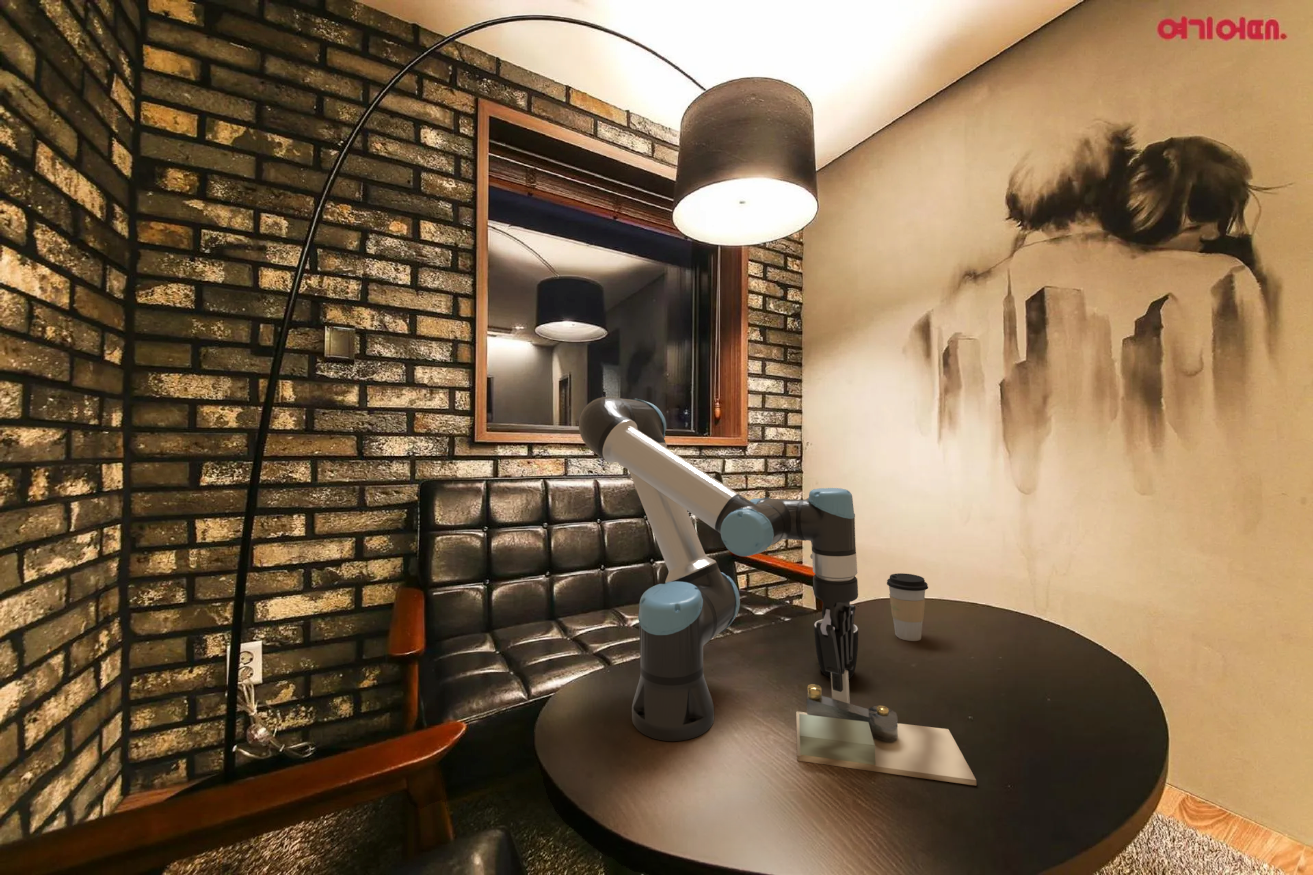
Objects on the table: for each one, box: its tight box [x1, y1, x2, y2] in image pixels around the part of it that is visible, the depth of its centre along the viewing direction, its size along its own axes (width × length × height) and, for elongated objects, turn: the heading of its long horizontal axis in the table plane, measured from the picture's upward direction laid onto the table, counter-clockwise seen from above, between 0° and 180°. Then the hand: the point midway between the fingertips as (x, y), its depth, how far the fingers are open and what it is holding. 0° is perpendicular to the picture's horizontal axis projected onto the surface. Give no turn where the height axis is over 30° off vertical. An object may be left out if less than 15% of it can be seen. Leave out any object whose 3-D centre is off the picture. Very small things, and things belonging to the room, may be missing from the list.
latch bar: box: [806, 683, 898, 742], centre depth 86 cm, size 15×4×5 cm, turn 53°
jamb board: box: [795, 711, 977, 786], centre depth 81 cm, size 25×13×4 cm, turn 75°
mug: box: [813, 618, 859, 679], centre depth 108 cm, size 12×9×10 cm
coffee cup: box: [886, 572, 929, 642], centre depth 125 cm, size 9×9×15 cm
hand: (840, 705), depth 89 cm, fingers closed
